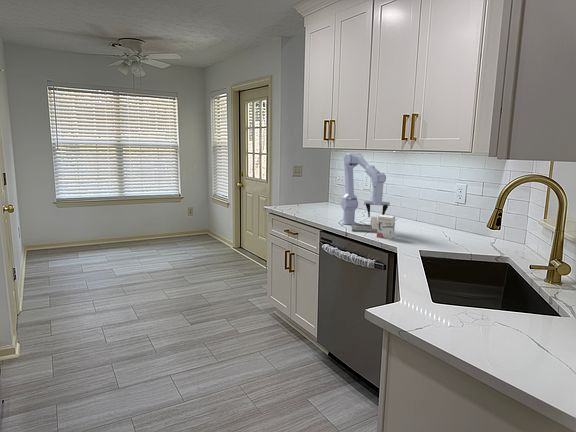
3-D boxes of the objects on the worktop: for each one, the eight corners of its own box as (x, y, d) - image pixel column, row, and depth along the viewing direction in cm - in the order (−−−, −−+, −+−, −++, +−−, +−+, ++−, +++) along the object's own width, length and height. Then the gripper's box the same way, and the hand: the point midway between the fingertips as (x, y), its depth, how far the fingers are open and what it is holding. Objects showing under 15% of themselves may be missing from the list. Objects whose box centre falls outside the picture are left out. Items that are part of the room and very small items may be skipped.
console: (351, 225, 251) (351, 223, 250) (383, 227, 248) (383, 225, 248) (351, 231, 234) (352, 229, 234) (385, 233, 231) (385, 231, 231)
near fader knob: (371, 227, 239) (372, 218, 238) (377, 227, 239) (378, 219, 238) (372, 229, 234) (372, 220, 233) (378, 229, 234) (379, 220, 233)
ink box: (376, 237, 222) (377, 215, 220) (378, 235, 226) (380, 214, 224) (392, 239, 218) (393, 217, 216) (394, 237, 222) (395, 216, 220)
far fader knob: (370, 224, 248) (371, 216, 247) (376, 224, 247) (376, 216, 246) (370, 226, 243) (371, 217, 242) (376, 226, 243) (377, 218, 242)
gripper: (364, 194, 230) (363, 217, 232) (391, 195, 228) (389, 219, 230) (364, 192, 237) (362, 215, 239) (389, 194, 235) (388, 217, 237)
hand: (375, 217), depth 235 cm, fingers open, 7 cm apart
